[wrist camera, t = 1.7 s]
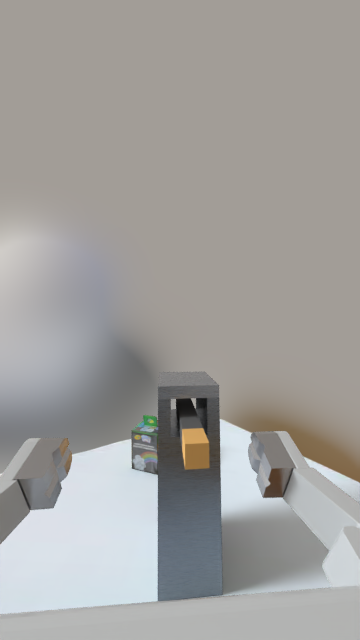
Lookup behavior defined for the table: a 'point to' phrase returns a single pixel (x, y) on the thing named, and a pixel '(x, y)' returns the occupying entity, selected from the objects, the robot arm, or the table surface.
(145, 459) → the chalk box
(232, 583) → the table surface
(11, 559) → the table surface
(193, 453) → the plug rod
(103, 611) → the robot arm
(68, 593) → the table surface
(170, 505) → the housing
